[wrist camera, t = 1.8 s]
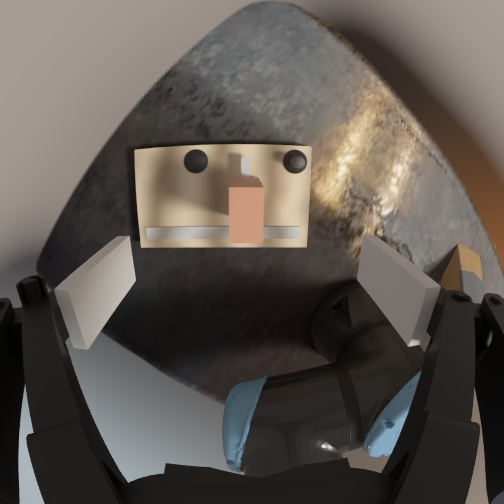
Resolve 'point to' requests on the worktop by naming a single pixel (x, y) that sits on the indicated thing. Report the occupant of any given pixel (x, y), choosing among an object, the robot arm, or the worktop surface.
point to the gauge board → (220, 193)
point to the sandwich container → (464, 274)
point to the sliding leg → (246, 207)
